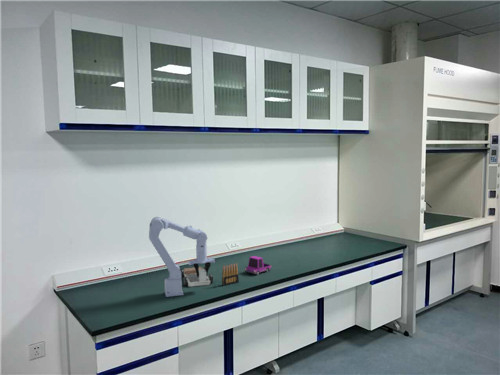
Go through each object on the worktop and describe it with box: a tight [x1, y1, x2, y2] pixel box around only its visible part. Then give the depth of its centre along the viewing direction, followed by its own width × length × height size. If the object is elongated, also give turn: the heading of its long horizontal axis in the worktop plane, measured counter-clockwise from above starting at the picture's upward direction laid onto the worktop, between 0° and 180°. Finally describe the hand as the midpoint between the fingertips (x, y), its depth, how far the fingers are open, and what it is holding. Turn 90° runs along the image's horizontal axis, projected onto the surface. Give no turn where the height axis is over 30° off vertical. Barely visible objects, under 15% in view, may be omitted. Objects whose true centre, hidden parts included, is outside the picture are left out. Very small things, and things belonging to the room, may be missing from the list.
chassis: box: [180, 265, 214, 288], centre depth 250 cm, size 17×24×5 cm
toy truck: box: [244, 255, 272, 276], centre depth 264 cm, size 11×16×10 cm
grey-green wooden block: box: [198, 268, 206, 281], centre depth 229 cm, size 4×5×5 cm
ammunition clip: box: [221, 262, 240, 287], centre depth 241 cm, size 11×2×12 cm, turn 125°
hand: (202, 276), depth 230 cm, fingers closed on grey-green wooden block, 4 cm apart
